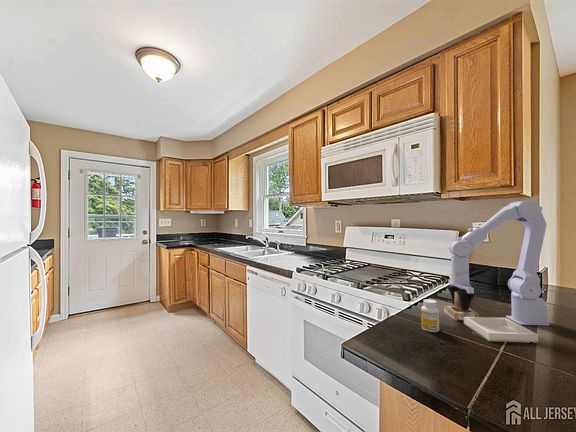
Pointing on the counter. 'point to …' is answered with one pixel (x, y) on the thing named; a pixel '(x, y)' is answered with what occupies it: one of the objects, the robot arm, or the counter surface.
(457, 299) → the wooden dowel
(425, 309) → the supplement bottle
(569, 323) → the counter surface
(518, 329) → the tray
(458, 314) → the collar
